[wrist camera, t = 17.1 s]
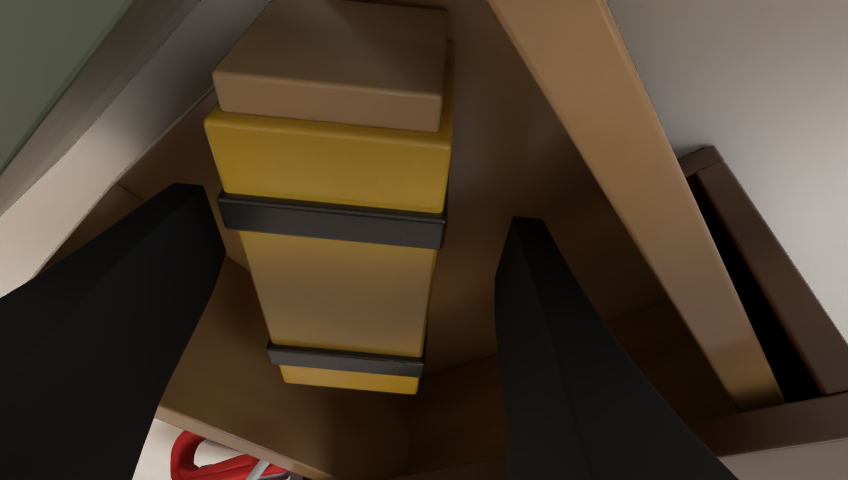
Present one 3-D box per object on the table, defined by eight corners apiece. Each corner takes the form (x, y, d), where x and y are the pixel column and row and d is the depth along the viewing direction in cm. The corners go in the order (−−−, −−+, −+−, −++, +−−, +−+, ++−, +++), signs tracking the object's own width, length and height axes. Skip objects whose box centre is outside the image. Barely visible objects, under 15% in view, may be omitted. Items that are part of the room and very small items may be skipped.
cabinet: (329, 315, 19) (277, 522, 13) (713, 143, 12) (906, 429, 7) (524, 447, 27) (538, 602, 22) (806, 392, 21) (919, 596, 16)
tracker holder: (353, 485, 31) (203, 516, 30) (347, 418, 33) (207, 445, 32) (321, 473, 21) (91, 520, 20) (315, 377, 23) (108, 414, 22)
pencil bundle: (427, 290, 14) (419, 402, 11) (311, 279, 14) (277, 389, 11) (464, 7, 8) (465, 112, 6) (263, -14, 8) (172, 82, 5)
